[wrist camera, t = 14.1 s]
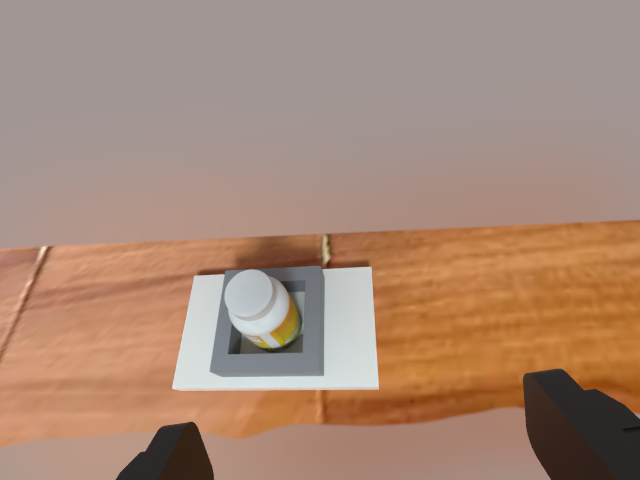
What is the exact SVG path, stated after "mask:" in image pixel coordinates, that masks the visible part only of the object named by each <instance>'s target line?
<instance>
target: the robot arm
mask: <svg viewBox="0 0 640 480" xmlns="http://www.w3.org/2000/svg"><path fill="white" fill-rule="evenodd" d="M523 386H524V401H525V416H526V428H527V433H528V437H529V440H530V443H531V446H532V448H533V450H534V453H535V454H536V456H537V458H538V460H539V461H540V463H541V465H542V466H543V468H544V469H545V471H546V472H547V474H548V476H549V477H550V479H551V480H640V419H639V418H638V417H637V416H636V415H635V414H634V413H633V412H632V411H630V410H629V409H628V408H627V407H626V406H625V405H624V404H622V403H620V402H618V401H617V400H615V399H613V398H611V397H609V396H607V395H606V394H604V393H602V392H600V391H598V390H597V389H592V390H585V391H584V390H583V389H582V388H581V387H580V386H579V385H578V384H577V383H576V382H575V381H574V380H573V379H572V378H571V377H570V376H569V375H568V374H567V373H566V372H565V371H564V370H562V369H553V370H546V371H539V372H533V373H526V374H525V375H524V378H523ZM116 480H214V474H213V469H212V465H211V463H210V460H209V457H208V454H207V452H206V449H205V446H204V443H203V441H202V438H201V435H200V432H199V430H198V427H197V425H196V424H195V423H193V422H187V423H181V424H174V425H167V426H163V427H161V428H160V429H159V430H158V431H157V433H156V435H155V436H154V438H153V440H152V441H151V443H150V445H149V446H148V448H147V450H146V451H145V452H140V453H139V454H138V455H137V456H136V457H135V458H134V459H133V460H132V461H131V462H130V463H129V464H128V465H127V466H126V467H125V468H124V469H123V470H122V471H121V472H120V474H119V475H118V477H117V479H116Z"/></svg>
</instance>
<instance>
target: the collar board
mask: <svg viewBox="0 0 640 480" xmlns="http://www.w3.org/2000/svg"><path fill="white" fill-rule="evenodd" d="M246 270H250V269H246ZM255 270H259V271H262V272H264V273H265V274H266V275H267V276H270V277H273V278H275V279H277V280H278V281H279V282H281V283H282V285H283V286H284V287H285V289H286V290H287V292H288V294H289V295H290V297H291V299H292V300H293V302H294V304H295V305H296V307H297V309H298V311H299V313H300V315H301V318H302V329H301V333H300V335H299V337H298V339H297V340H296V341H295V343H294V344H293V345H292V346H291V347H289V348H288V349H286V350H284V351H281V352H267V351H264V350H262V349H260V348H259V347H258V346H256V345H255V344H254V343H253V342H251V341H250V340H249V339H248V338H247V337H245V336H244V335H243V334H242V333H241V332H240V331H238V330H237V329H236V328H235V326H234V325H233V324H232V322H231V320H230V318H229V313H228V308H227V306H226V304H225V299H224V294H225V289H226V286H227V284H228V283H229V281H230V280H231V279H232V278H233V277H234V276H235V275H236V274H238V273H240V272H242V271H245V270H227V271H225V274H220V275H201V276H194V281H193V286H192V291H191V296H190V301H189V306H188V311H187V316H186V321H185V326H184V331H183V336H182V341H181V346H180V351H179V356H178V361H177V366H176V371H175V376H174V381H173V386H172V389H175V390H179V391H196V390H370V389H379V382H378V366H377V350H376V334H375V318H374V302H373V286H372V270H371V267H355V268H336V269H322V268H321V266H302V267H284V268H265V269H255Z"/></svg>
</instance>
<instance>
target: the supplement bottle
mask: <svg viewBox="0 0 640 480" xmlns="http://www.w3.org/2000/svg"><path fill="white" fill-rule="evenodd" d="M224 299H225V304H226V306H227V308H228V313H229V318H230V320H231V322H232V324H233V325H234V326H235V328H236V329H237V330H238V331H240V332H241V333H242V334H243V335H244V336H245V337H247V338H248V339H249V340H250V341H251V342H253V343H254V344H255V345H256V346H258V347H259V348H260V349H262V350H264V351H267V352H281V351H284V350H286V349H288V348H289V347H291V346H292V345H293V344H294V343H295V341H296V340H297V339H298V337H299V335H300V333H301V329H302V318H301V315H300V313H299V311H298V309H297V307H296V305H295V304H294V302H293V300H292V299H291V297H290V295H289V294H288V292H287V290H286V289H285V287H284V286H283V285H282V283H281V282H279V281H278V280H277V279H275V278H273V277H270V276H267V275H266V274H265V273H264V272H262V271H259V270H255V269H250V270H245V271H242V272H240V273H238V274H236V275H235V276H234V277H233V278H232V279H231V280H230V281H229V283H228V284H227V286H226V289H225V294H224Z"/></svg>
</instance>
